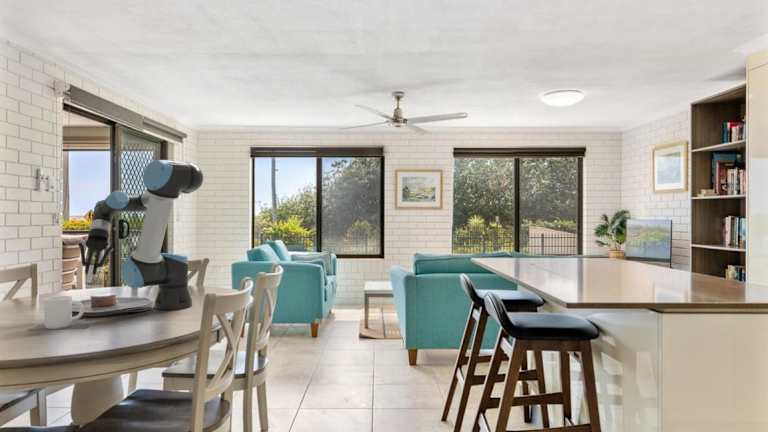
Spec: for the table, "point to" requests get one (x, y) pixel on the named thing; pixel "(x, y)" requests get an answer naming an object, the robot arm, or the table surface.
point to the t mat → (74, 325)
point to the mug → (60, 311)
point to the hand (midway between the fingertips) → (88, 280)
